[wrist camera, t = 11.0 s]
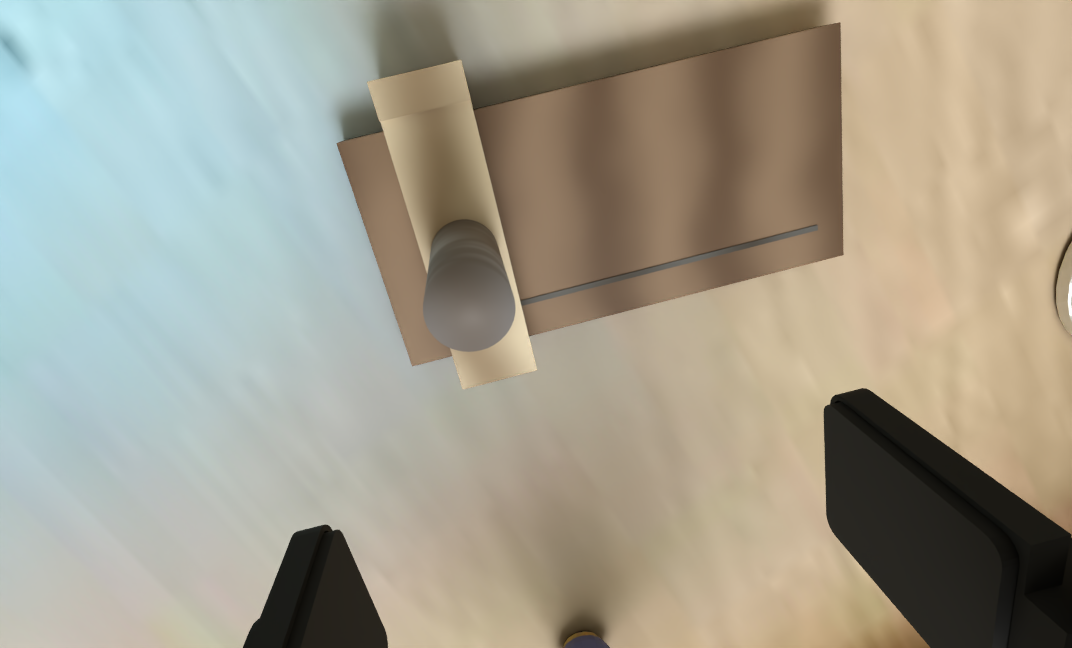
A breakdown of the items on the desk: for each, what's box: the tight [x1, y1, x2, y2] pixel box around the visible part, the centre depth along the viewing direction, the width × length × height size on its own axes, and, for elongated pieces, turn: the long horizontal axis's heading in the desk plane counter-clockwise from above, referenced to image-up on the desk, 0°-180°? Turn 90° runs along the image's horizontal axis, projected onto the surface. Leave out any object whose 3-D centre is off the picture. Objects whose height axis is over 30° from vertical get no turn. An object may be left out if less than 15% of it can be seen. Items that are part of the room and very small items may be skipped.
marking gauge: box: [367, 60, 537, 389], centre depth 25 cm, size 4×15×12 cm, turn 13°
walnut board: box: [337, 23, 843, 366], centre depth 31 cm, size 25×12×2 cm, turn 102°
